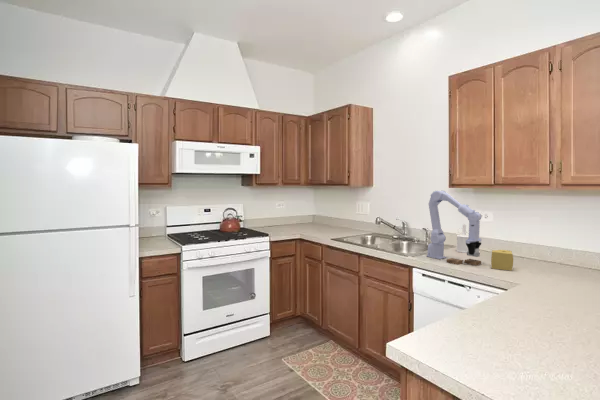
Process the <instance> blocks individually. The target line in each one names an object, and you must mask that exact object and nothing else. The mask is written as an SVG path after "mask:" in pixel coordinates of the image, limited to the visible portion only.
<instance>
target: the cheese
mask: <svg viewBox="0 0 600 400" xmlns="http://www.w3.org/2000/svg"><path fill="white" fill-rule="evenodd" d="M490 264H491V269H494V270H500V271H501V270H504V271H509V272H510V271H513V268H514V267H513V266H514V254H513V252H512V250H508V249H507V250H506V249H497V250H495V249H492V251H491V260H490Z"/></svg>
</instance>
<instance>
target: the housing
mask: <svg viewBox="0 0 600 400" xmlns="http://www.w3.org/2000/svg"><path fill="white" fill-rule="evenodd" d="M466 256H469V257H476V258H478V257H480V256H481V252H480V247H479V248H475V249H474V254H473V255H470V254H469V250H468V252H467V253H466Z"/></svg>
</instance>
